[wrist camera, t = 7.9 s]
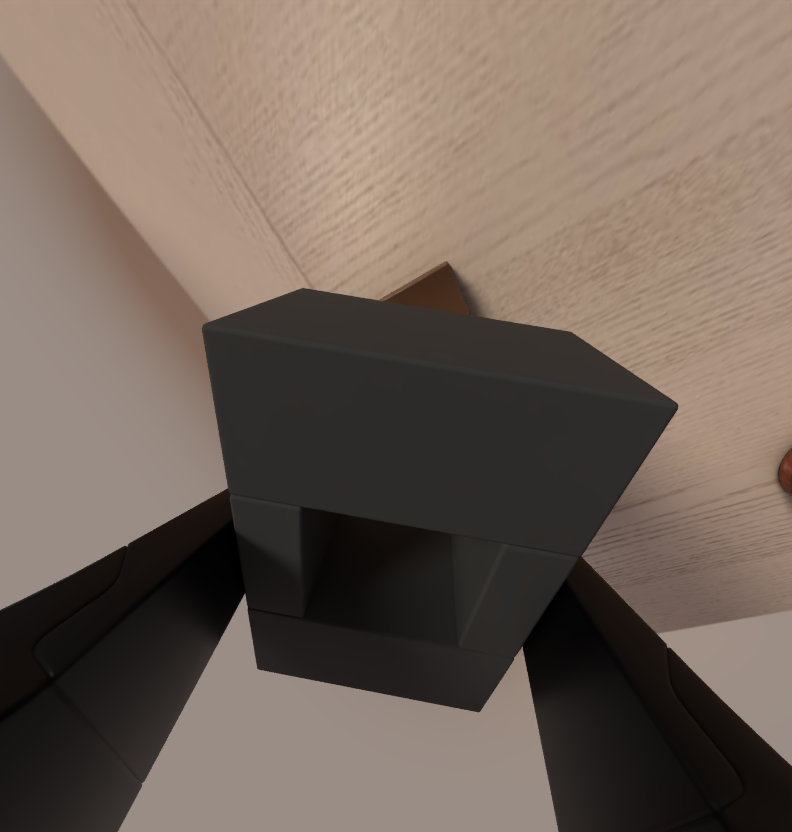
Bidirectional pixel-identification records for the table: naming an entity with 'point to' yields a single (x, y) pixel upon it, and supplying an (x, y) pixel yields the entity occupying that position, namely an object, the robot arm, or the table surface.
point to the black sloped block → (414, 483)
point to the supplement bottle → (786, 473)
